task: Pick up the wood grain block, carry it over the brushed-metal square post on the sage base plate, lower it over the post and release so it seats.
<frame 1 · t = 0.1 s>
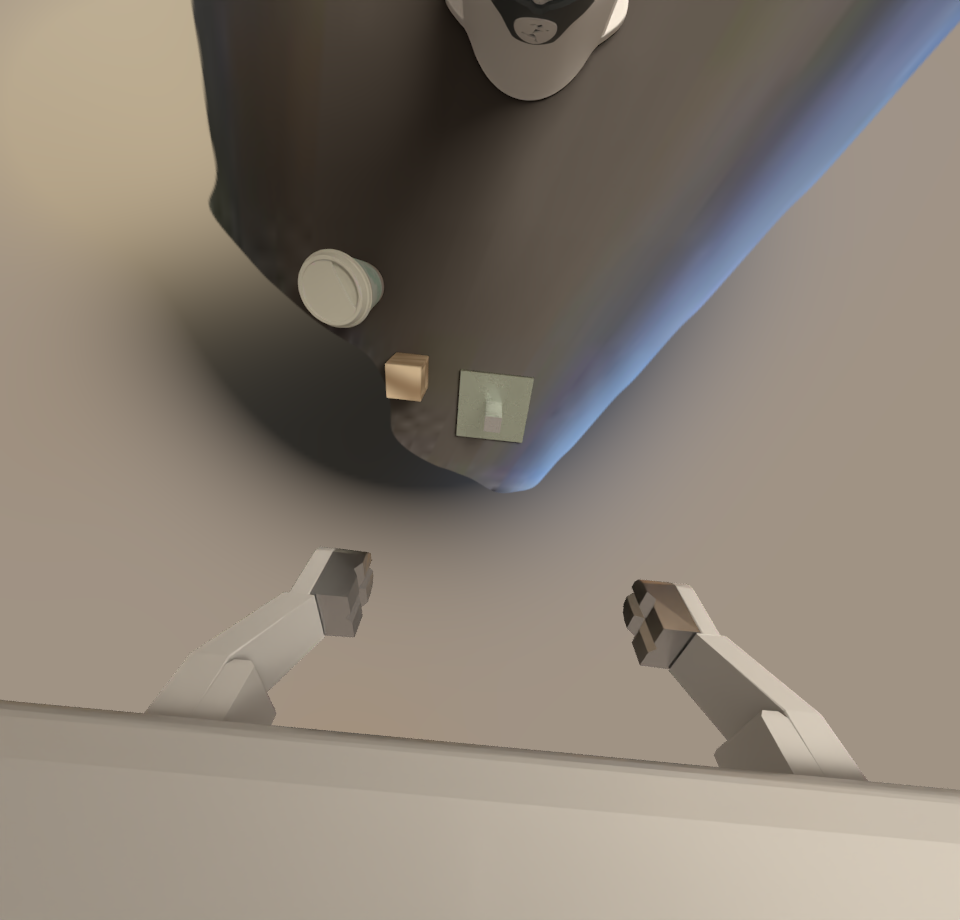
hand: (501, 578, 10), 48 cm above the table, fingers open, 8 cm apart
post: (493, 407, 59), on the table
coffee cup: (364, 283, 50), on the table
wood grain block: (412, 370, 56), on the table
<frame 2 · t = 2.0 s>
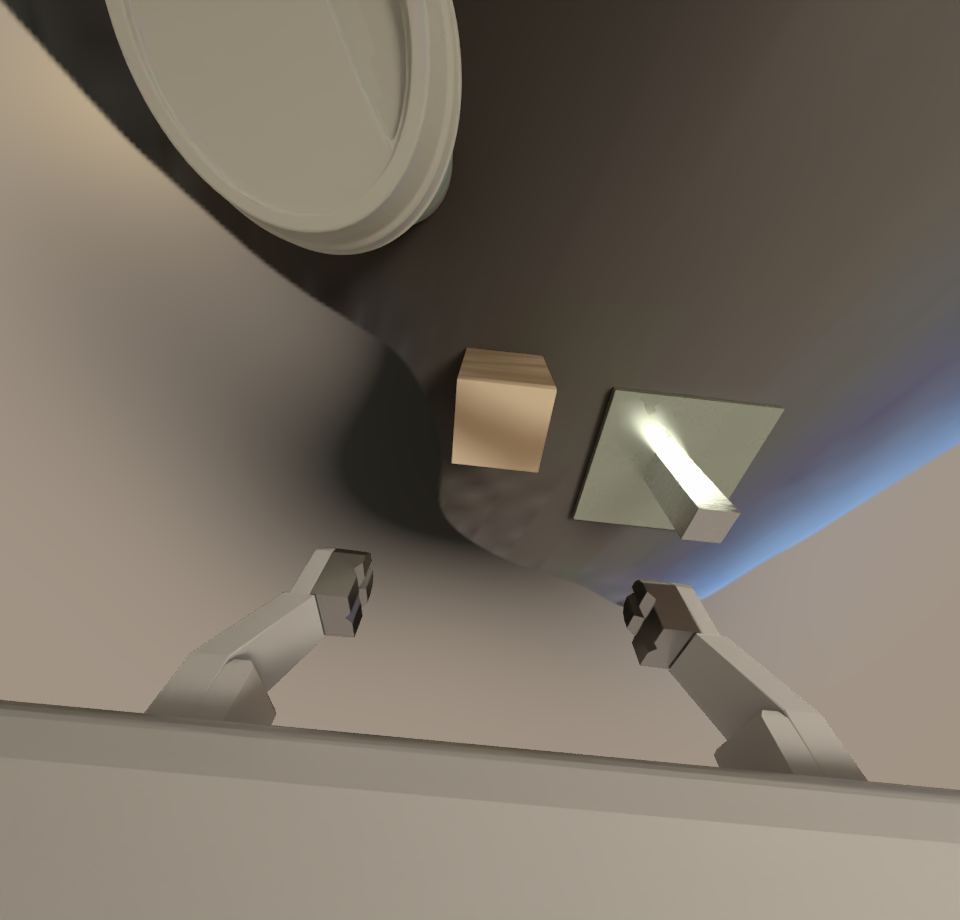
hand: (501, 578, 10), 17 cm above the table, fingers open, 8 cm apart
post: (663, 466, 27), on the table
coffee cup: (399, 159, 18), on the table
wood grain block: (499, 388, 24), on the table
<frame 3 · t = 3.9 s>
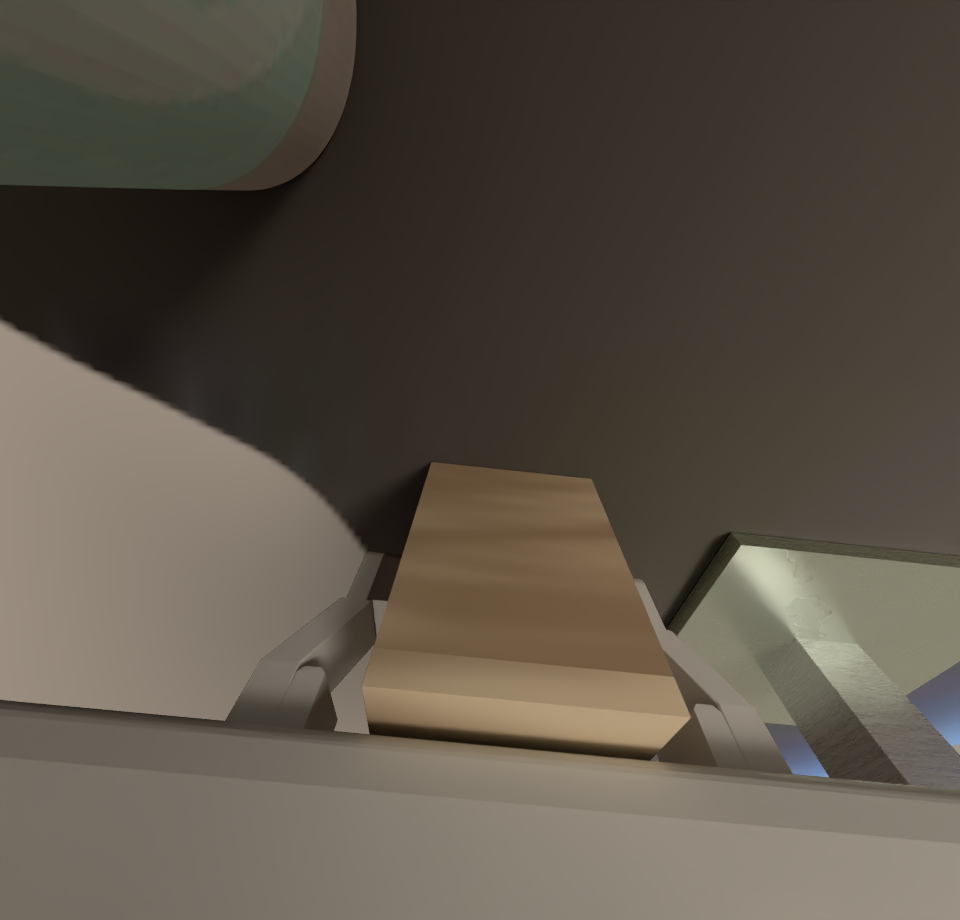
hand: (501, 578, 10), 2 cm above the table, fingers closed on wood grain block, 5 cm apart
post: (797, 644, 15), on the table
wood grain block: (501, 529, 12), on the table, touching gripper
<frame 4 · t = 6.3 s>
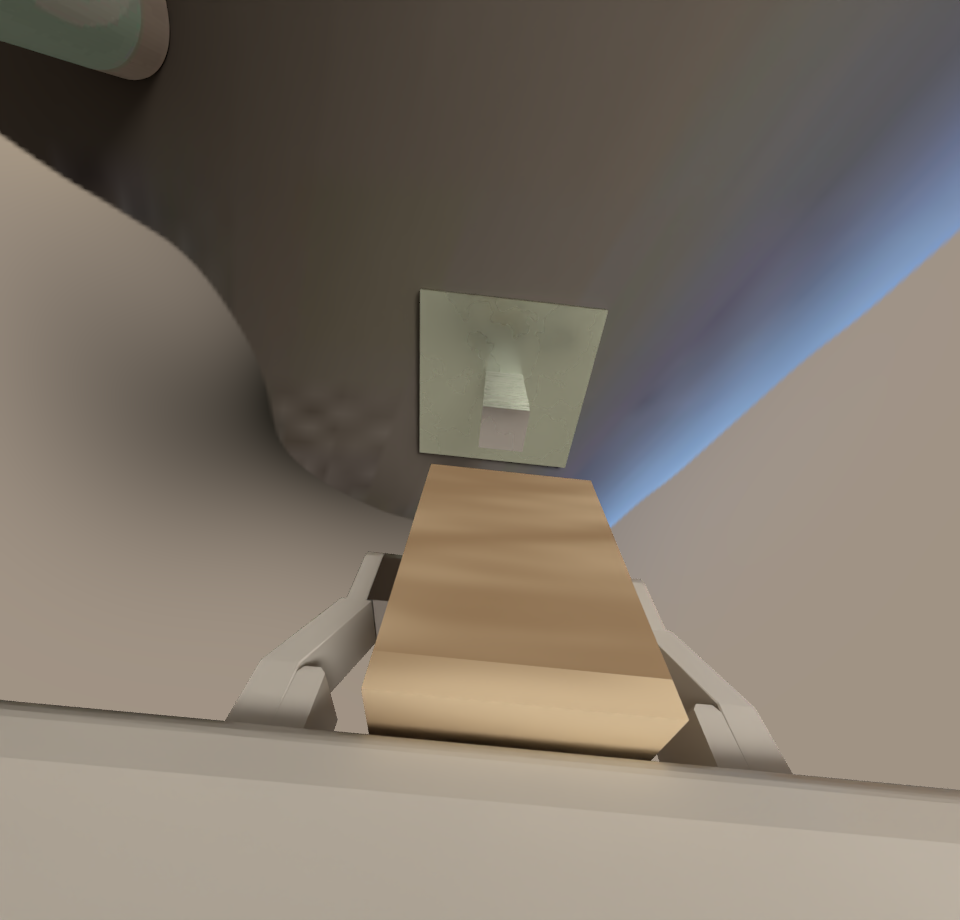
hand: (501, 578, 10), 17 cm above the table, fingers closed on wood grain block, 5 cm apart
post: (501, 387, 25), on the table
wood grain block: (500, 531, 12), point 15 cm above the table, touching gripper
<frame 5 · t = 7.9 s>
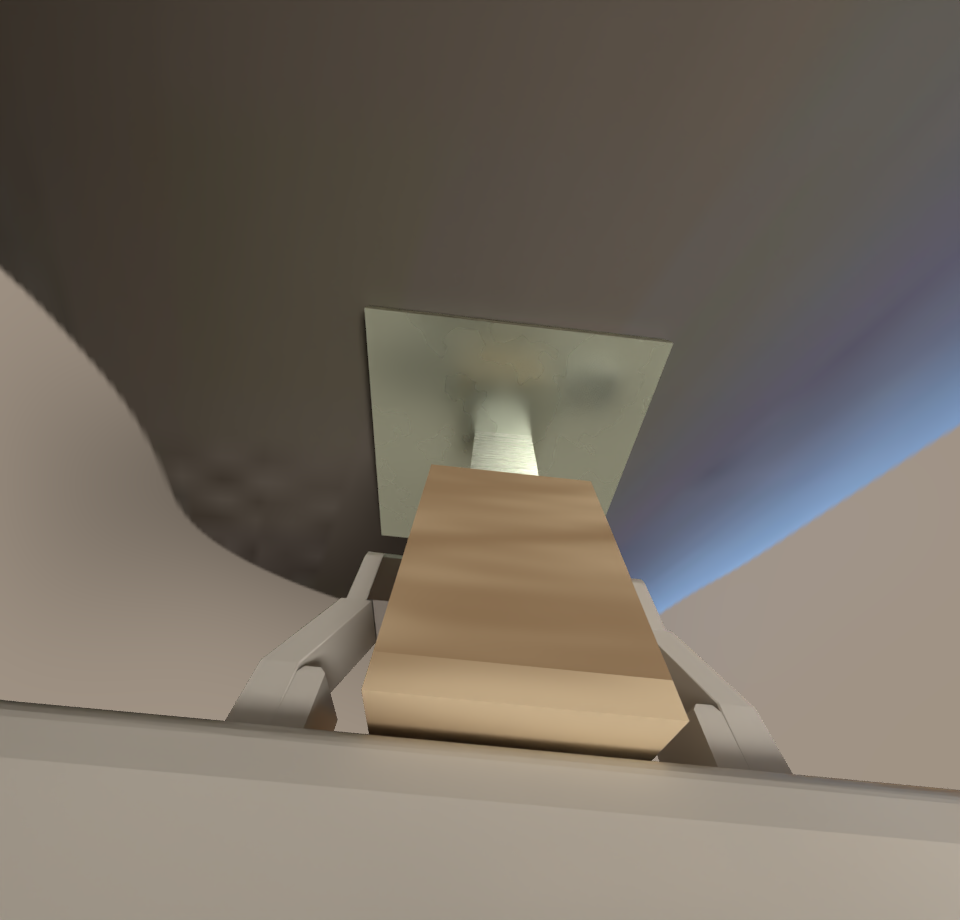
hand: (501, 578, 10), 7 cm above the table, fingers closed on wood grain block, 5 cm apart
post: (499, 451, 17), on the table
wood grain block: (500, 531, 12), point 5 cm above the table, touching gripper
when the fingers open (5 cm above the table, at t = 8.9 s): wood grain block drops 1 cm, resting on post.
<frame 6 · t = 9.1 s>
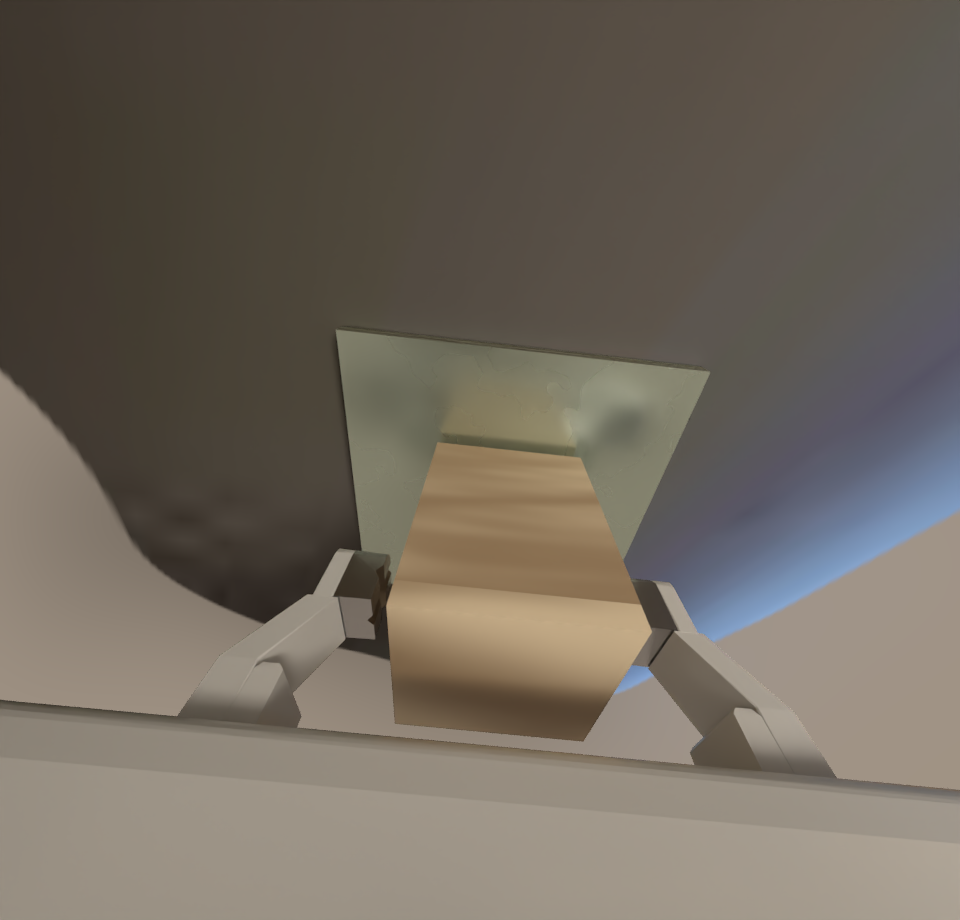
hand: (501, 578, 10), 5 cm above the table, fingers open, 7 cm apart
post: (500, 490, 14), on the table
wood grain block: (499, 505, 14), point 1 cm above the table, touching post
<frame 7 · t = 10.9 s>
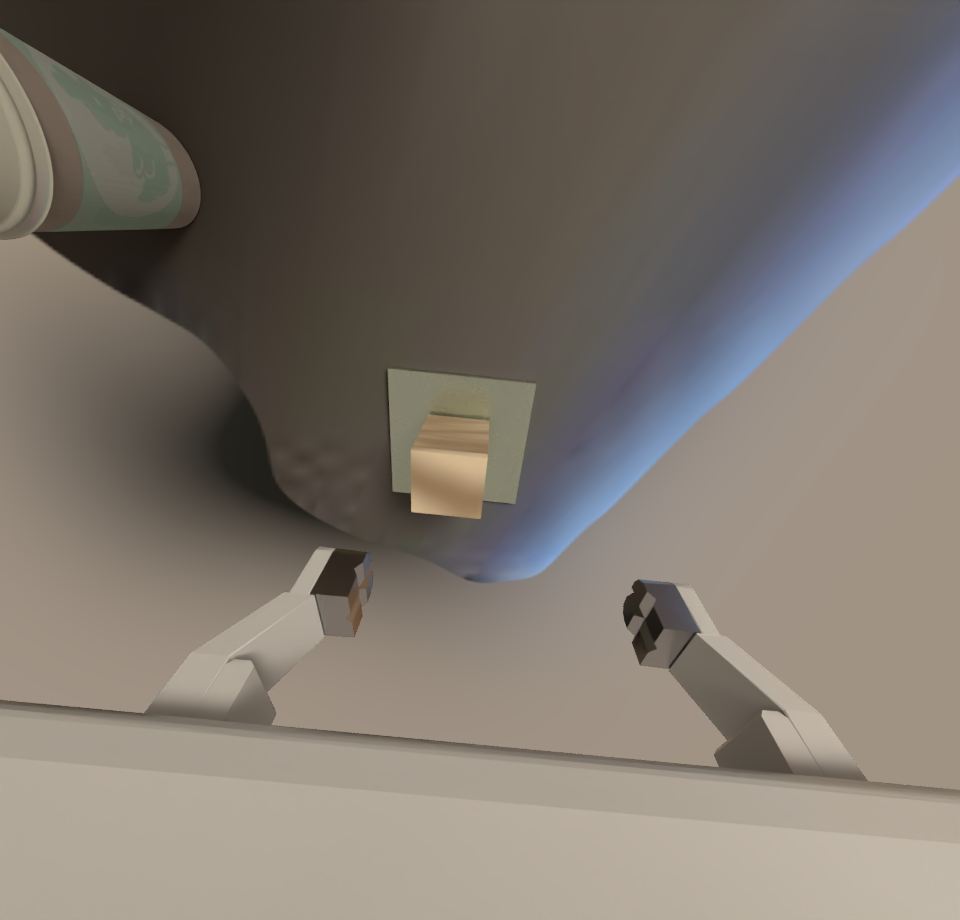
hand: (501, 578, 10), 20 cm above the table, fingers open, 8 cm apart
post: (458, 439, 31), on the table
coffee cup: (158, 175, 22), on the table
wood grain block: (457, 445, 30), point 1 cm above the table, touching post
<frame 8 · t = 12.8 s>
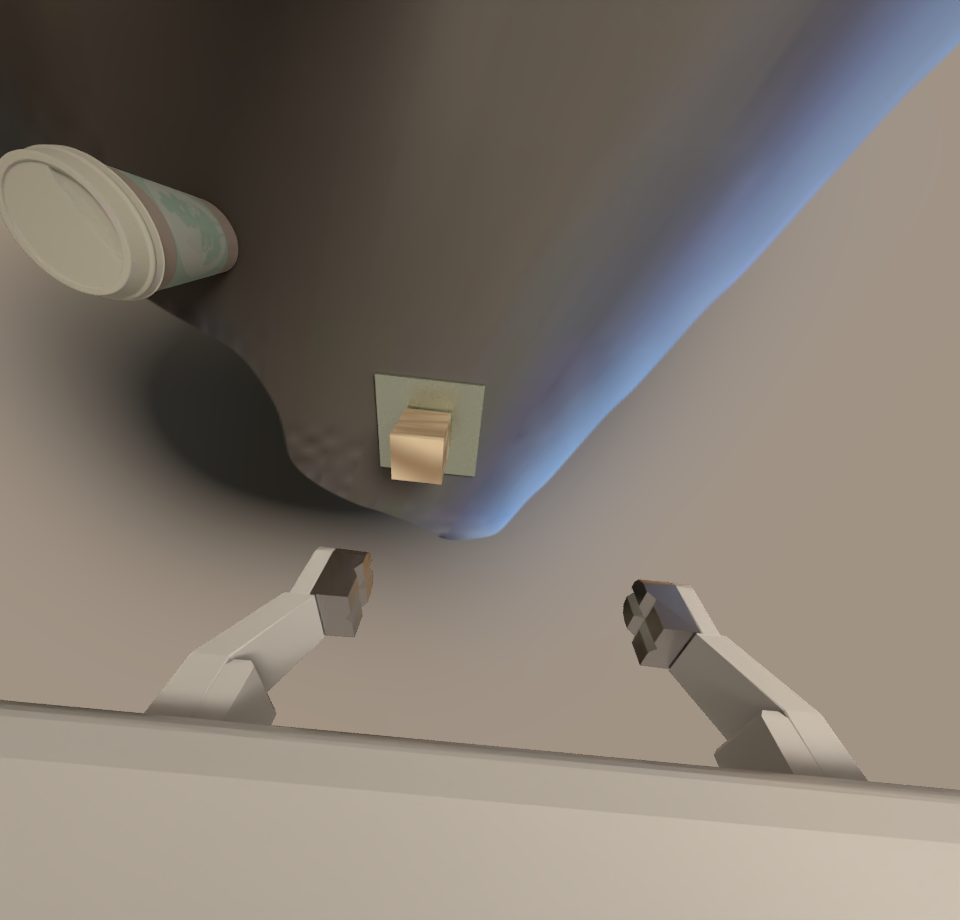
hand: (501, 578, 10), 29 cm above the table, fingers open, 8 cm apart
post: (429, 427, 40), on the table
coffee cup: (207, 236, 31), on the table
wood grain block: (428, 431, 40), point 1 cm above the table, touching post
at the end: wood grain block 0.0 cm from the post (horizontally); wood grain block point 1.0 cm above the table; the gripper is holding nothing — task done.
